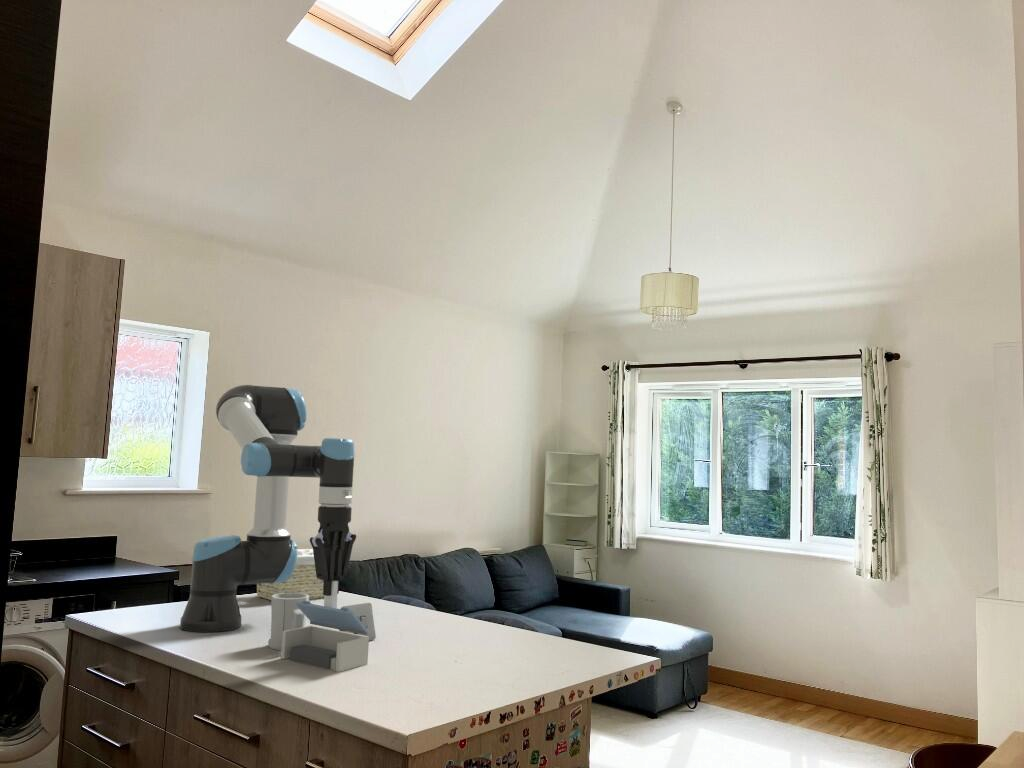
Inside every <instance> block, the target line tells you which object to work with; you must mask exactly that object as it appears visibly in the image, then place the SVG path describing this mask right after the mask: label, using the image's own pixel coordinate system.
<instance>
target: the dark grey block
mask: <svg viewBox="0 0 1024 768" xmlns="http://www.w3.org/2000/svg"><path fill="white" fill-rule="evenodd" d="M336 655H337V651H333V650H329V649H324V648H319V647H315V646H310V645H305V644H303V645H298V646H294V647H291V651H290V658H289V661H291V662H296V663H300V664H303V665H304V664H305V665H308V666H311V667H317V668H321V669H325V670H333V671H336Z"/></svg>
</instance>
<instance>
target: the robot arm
mask: <svg viewBox="0 0 1024 768" xmlns="http://www.w3.org/2000/svg"><path fill="white" fill-rule="evenodd" d="M215 413H216V414H215V415H216V418H217V420H218V422H219V424H220V426H222V427H223V428H224V429H225V430H227V431H230V433H231V435H232V436H233V438H234V439H235V441H236V442H237V444H238V445H239V447H240V448H241V450H242V451H241V456H240V465H241V470H242V472H243V474H244V475H247V476H252V477H253V476H256V485H255V486H256V489H255V502H254V503H255V504H254V515H253V527H252V528H251V529H250V530H249V531H248V532H247V533H246V540H242V539H241V536H240V535H234V534H233V535H218V536H214V537H208V538H207V537H206V538H203V539H200V540H198V541H197V542H196V543H195V544H194V547H193V553H192V558H191V561H192V563H191V564H192V565H191V578H190V590H189V598H188V600H187V603H186V606H185V608H184V611H183V613H182V616H181V618H180V625H179V627H180V629H182V630H184V631H189V632H196V633H197V632H199V633H200V632H201V633H208V632H209V633H212V632H213V633H214V632H215V633H216V632H227V631H231V630H235V629H239V628H240V627H242V618H243V617H242V614H241V611H240V605H239V603H238V602H239V601H238V598H237V590H238V586H239V585H257V584H261V583H269V584H273V583H278V582H284V581H286V580H288V579H289V578H290V576H291V575H292V573H293V571H294V568H295V565H296V560H297V550H296V549H297V548H298V547H297V546H298V545H297V542H296V541H295V540H293V539H291V536H292V535H291V533H290V531H288V530H287V527H286V526H287V510H288V497H289V495H288V494H289V482H290V478H318V479H319V485H318V486H319V487H318V503H319V504H320V505H319V506H318V508H317V522H318V523H319V527H318V530H317V534H316V535H315V536H314V537H313V536H312V537H310V538H309V544H310V545H311V547H312V549H313V554H314V561H315V569H316V576H317V578H318V579H320V580H323V582H324V584H323V595H324V597H323V599H324V600H323V606H326V607H331V608H337V605H338V594H339V593H340V592H339V591H340V581H343V580H344V577H347V574H348V569H349V565H350V560H351V555H352V551H353V547H354V543H355V541H356V539H357V535H356V534H354V533H351V532H350V526H349V523H351V521H352V510H353V508H352V507H351V506H349V505H351V504H353V502H352V501H353V500H352V499H353V483H354V482H353V481H354V465H355V457H356V456H355V455H356V454H355V443H354V440H352V439H351V438H333V437H332V438H329V437H326V438H323V439H322V441H321V445H303V444H302V445H299V444H298V445H297V444H292V442H293V441H295V439H297V437H298V432H299V431H302V430H303V429H304V428H305V426H306V422H307V406H306V401H305V398H304V396H303V394H302V393H301V392H300V391H299V390H297V389H294V388H287V387H277V386H266V385H265V386H264V385H263V386H262V385H253V384H242V385H237V386H235V387H232V388H231V389H229V390H227V391H226V392H225V393H223V394H222V396H220V398H219V400H218V401H217V403H216V407H215ZM337 609H338V608H337Z"/></svg>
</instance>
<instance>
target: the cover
mask: <svg viewBox="0 0 1024 768" xmlns="http://www.w3.org/2000/svg"><path fill="white" fill-rule="evenodd" d="M295 604H296V605H297V606H298V607H299V608H300V610H301V611H302V612H303V613H304V614H305V616H306V619H308V620H309V623H310V625H313V626H318V627H323V628H328V629H333V630H338V631H339V630H343V631H348V632H353V633H359V634H364V635H368V631H367V629H366V627H365V626H364V625H363V623H362V622H361V621H360V620H359V618H358V617H357V616H356V615H355V613H354V612H353V611H350V610H349V609H348V608H343V606H341V607H340V608H331V607H326V606H324V605H320V604H314V603H311V601H309V600H308V601H303V602H298V601H297V602H296V603H295Z"/></svg>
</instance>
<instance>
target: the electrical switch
mask: <svg viewBox="0 0 1024 768" xmlns="http://www.w3.org/2000/svg"><path fill="white" fill-rule="evenodd" d="M342 607H343V608H348V609H349V610H350V611H353V612H354V613H355V615H356V616H357V617H358V618H359V620H360V621H361V622H362V623H363V625H364V626H365V627H366V629H367V631H368V635H364V634H359V633H353V632H348V631H343V630H338V631H343V632H348V633H353V634H358V635H363V636H368V637H369V642H370V641H373V640H376V637H377V635H376V628H375V627H376V626H375V619H374V613H373V606H372V603H371V602H363V603H356V604H350V605H349V604H348V605H344V606H342Z"/></svg>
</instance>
